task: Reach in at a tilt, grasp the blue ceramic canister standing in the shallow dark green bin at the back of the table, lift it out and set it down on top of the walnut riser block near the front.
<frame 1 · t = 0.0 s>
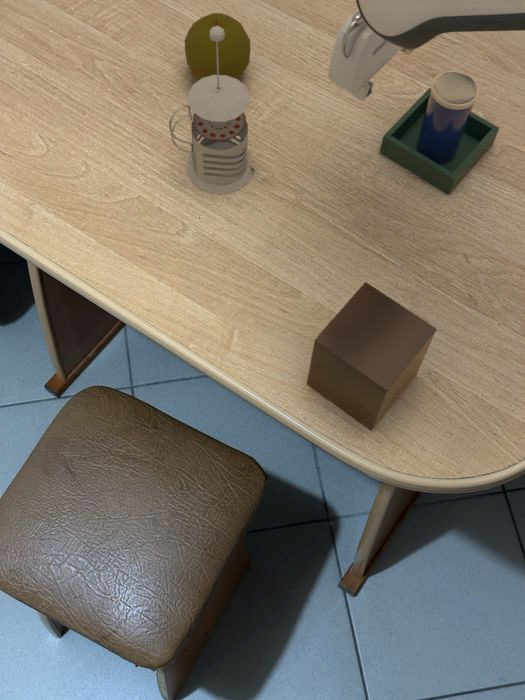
hand: (384, 71, 98), 23 cm above the table, tool pointing down, fingers open, 8 cm apart
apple: (218, 77, 129), on the table
canister: (436, 148, 122), point 1 cm above the table, touching bin
french press: (214, 168, 121), on the table
riser: (361, 379, 106), on the table
bin: (435, 152, 123), on the table
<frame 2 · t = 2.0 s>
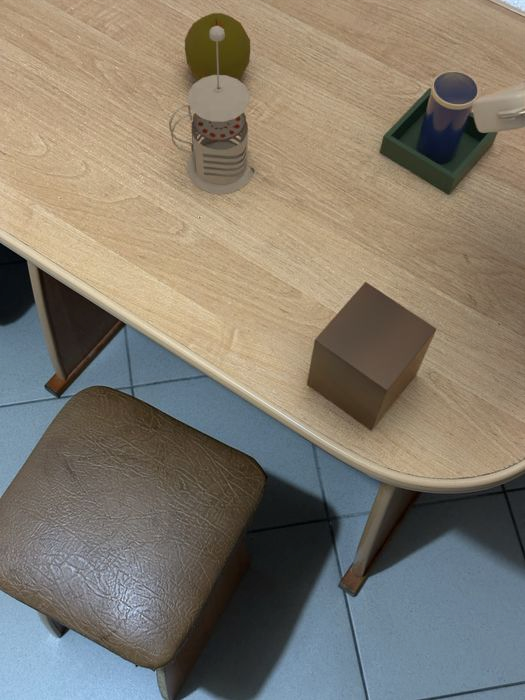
hand: (521, 92, 98), 23 cm above the table, tool tilted 45°, fingers open, 8 cm apart
nothing on the table moved.
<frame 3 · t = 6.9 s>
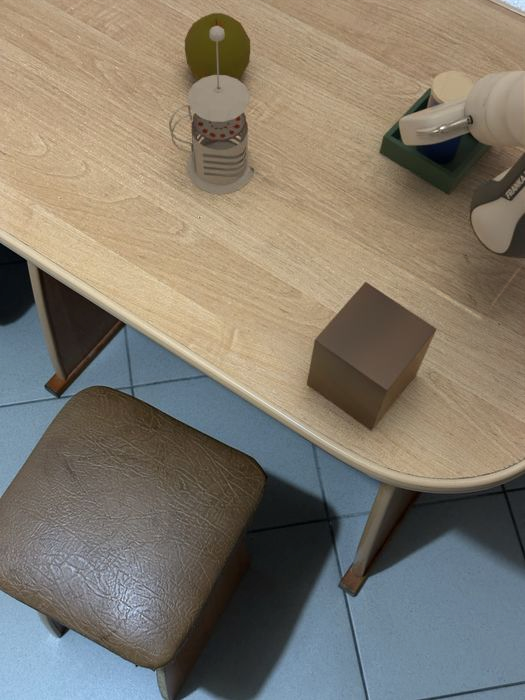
hand: (445, 110, 116), 8 cm above the table, tool tilted 45°, fingers closed on canister, 6 cm apart
canister: (436, 148, 122), point 1 cm above the table, touching bin, gripper
everything else where it was.
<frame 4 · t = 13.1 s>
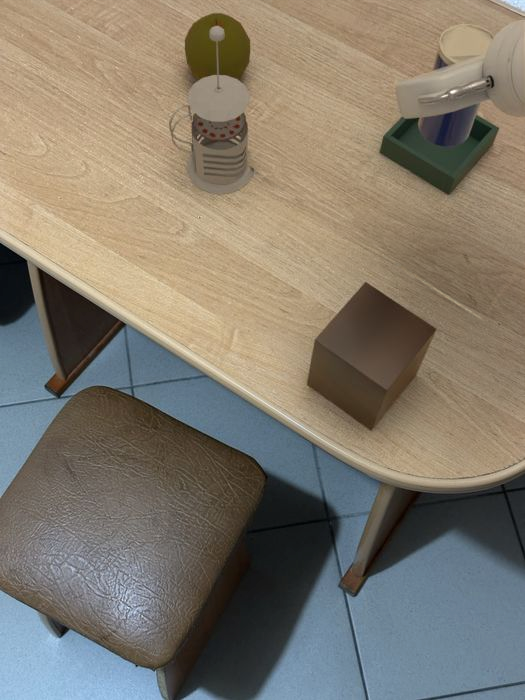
hand: (455, 76, 91), 29 cm above the table, tool tilted 45°, fingers closed on canister, 6 cm apart
canister: (444, 127, 97), point 22 cm above the table, touching gripper
everything else where it was.
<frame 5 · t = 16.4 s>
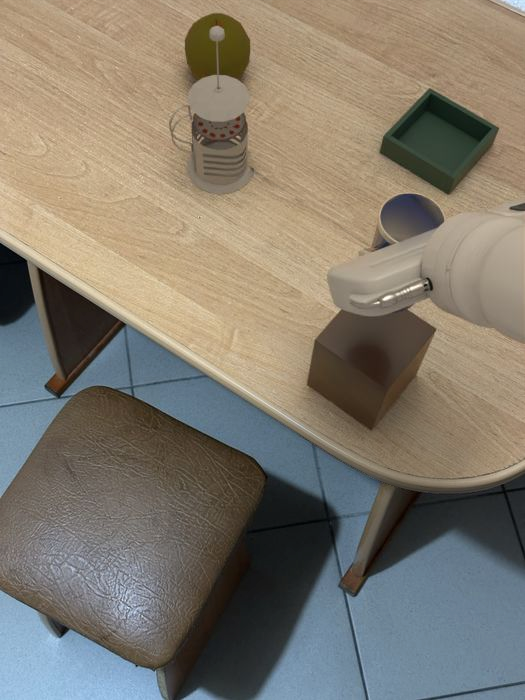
hand: (400, 244, 81), 28 cm above the table, tool tilted 45°, fingers closed on canister, 6 cm apart
canister: (390, 288, 87), point 21 cm above the table, touching gripper
everything else where it was.
when the fingers open (19 cm above the table, at t = 19.4 s): canister stays where it is, resting on riser.
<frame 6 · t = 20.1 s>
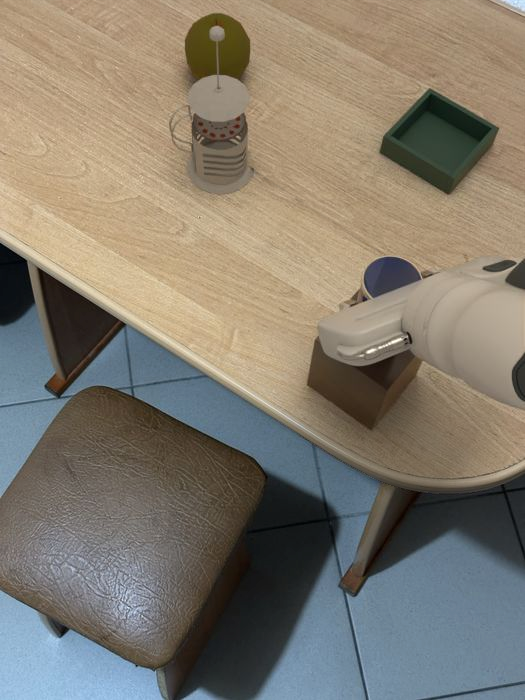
hand: (385, 292, 88), 20 cm above the table, tool tilted 45°, fingers open, 8 cm apart
canister: (374, 337, 95), point 12 cm above the table, touching riser
everything else where it was.
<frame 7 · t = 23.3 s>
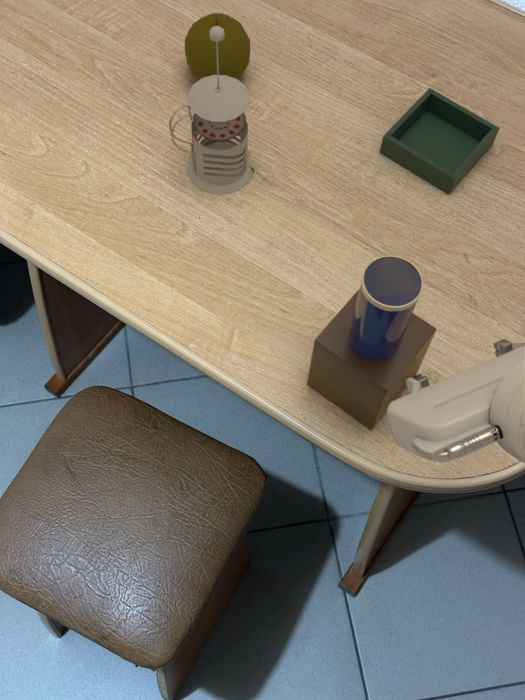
hand: (457, 365, 78), 26 cm above the table, tool tilted 45°, fingers open, 8 cm apart
nothing on the table moved.
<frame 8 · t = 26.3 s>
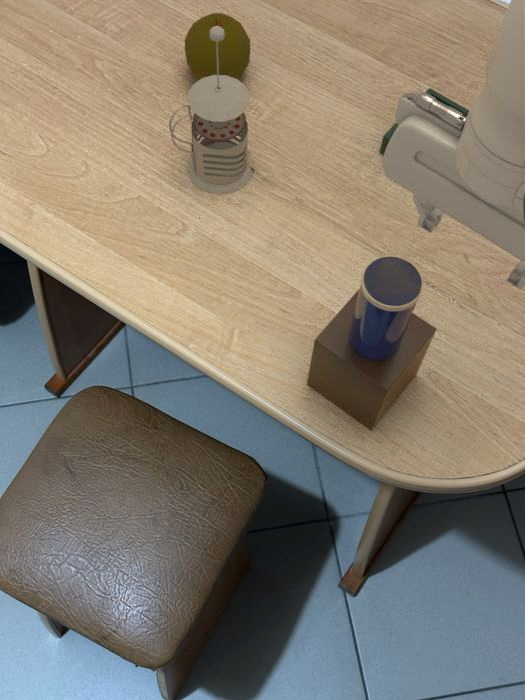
hand: (472, 252, 75), 33 cm above the table, tool pointing down, fingers open, 8 cm apart
nothing on the table moved.
at the end: canister 0.4 cm off-centre on the riser, point 12.0 cm above the riser's base; canister tilted 0°; canister touching riser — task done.
